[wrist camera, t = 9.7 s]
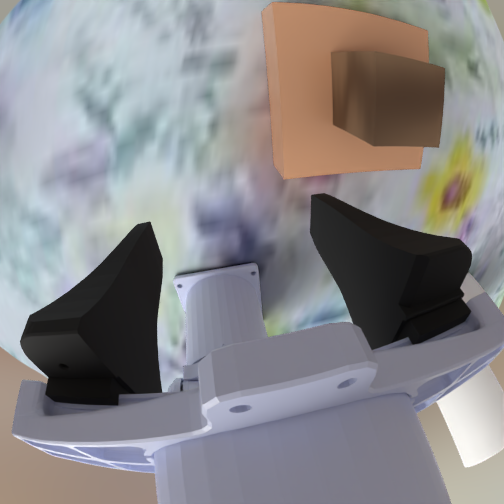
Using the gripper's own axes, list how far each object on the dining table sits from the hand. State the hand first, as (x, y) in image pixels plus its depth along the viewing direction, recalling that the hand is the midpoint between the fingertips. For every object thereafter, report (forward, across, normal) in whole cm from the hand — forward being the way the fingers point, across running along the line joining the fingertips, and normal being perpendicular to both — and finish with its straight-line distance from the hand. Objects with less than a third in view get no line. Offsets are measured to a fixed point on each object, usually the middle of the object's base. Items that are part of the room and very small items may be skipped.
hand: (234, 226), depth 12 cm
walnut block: (+6, -10, -5) cm, 13 cm away
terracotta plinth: (+9, -10, -5) cm, 15 cm away
